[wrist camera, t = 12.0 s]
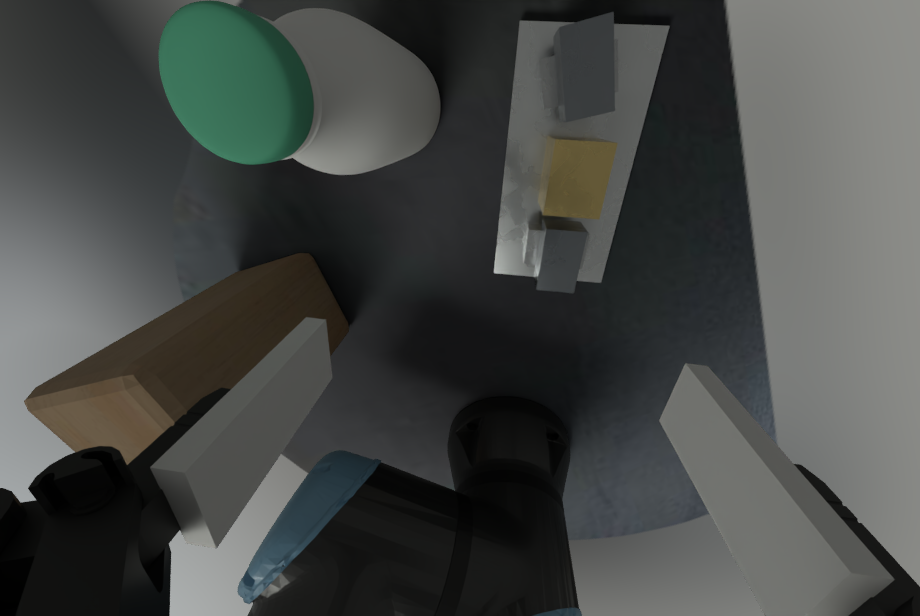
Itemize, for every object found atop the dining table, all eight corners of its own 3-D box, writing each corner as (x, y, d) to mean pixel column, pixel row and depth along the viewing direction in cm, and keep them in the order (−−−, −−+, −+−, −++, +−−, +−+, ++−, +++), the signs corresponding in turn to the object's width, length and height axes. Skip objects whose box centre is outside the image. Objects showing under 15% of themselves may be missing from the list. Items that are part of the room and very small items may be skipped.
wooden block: (282, 345, 42) (125, 506, 25) (234, 271, 38) (4, 401, 21) (355, 328, 40) (237, 493, 22) (312, 246, 36) (125, 372, 18)
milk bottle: (426, 32, 26) (264, -136, 9) (452, 143, 30) (375, 183, 12) (334, 65, 28) (45, -20, 10) (369, 166, 31) (195, 231, 14)
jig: (598, 278, 34) (615, 308, 28) (494, 269, 34) (491, 296, 29) (663, 29, 24) (706, 5, 19) (519, 23, 25) (522, -1, 20)
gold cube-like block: (585, 204, 30) (599, 219, 25) (537, 200, 30) (543, 215, 26) (600, 138, 27) (617, 142, 23) (547, 135, 27) (555, 139, 23)
